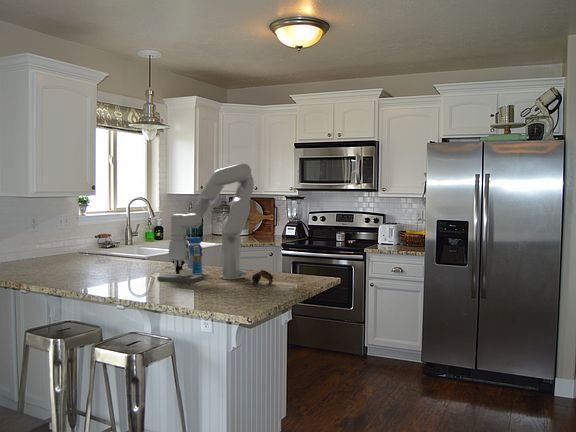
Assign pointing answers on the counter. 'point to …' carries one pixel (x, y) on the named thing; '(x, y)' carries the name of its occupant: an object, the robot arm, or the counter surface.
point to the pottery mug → (264, 274)
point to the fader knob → (186, 272)
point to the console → (180, 278)
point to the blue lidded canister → (195, 255)
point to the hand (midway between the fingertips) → (179, 273)
